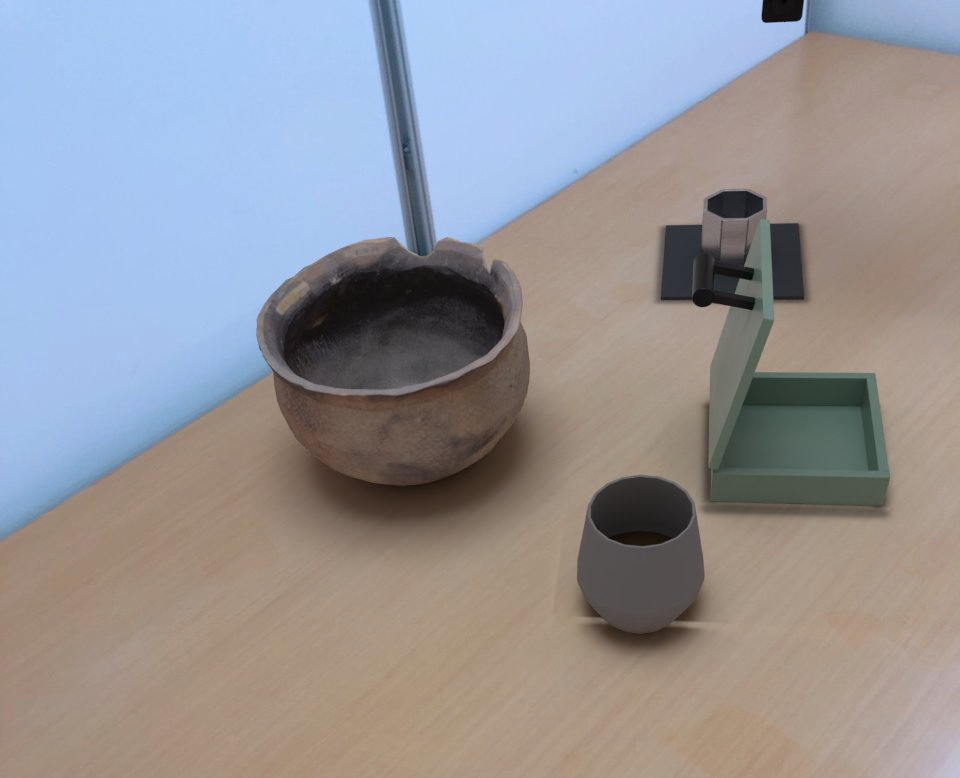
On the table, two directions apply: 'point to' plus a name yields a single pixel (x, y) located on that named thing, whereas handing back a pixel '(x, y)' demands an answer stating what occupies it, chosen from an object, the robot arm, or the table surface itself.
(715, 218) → the octagonal grey canister
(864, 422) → the green tray
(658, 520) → the cup
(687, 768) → the table surface
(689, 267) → the mat
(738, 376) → the box lid
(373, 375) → the ceramic bowl
